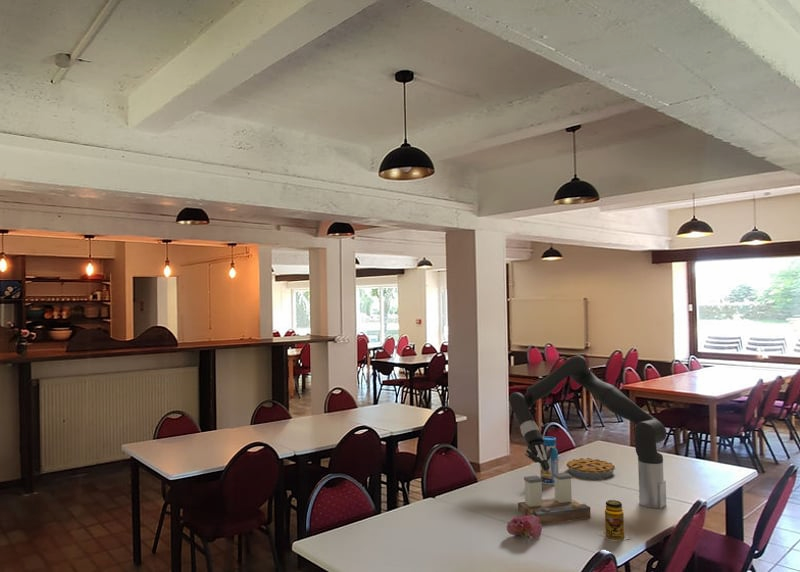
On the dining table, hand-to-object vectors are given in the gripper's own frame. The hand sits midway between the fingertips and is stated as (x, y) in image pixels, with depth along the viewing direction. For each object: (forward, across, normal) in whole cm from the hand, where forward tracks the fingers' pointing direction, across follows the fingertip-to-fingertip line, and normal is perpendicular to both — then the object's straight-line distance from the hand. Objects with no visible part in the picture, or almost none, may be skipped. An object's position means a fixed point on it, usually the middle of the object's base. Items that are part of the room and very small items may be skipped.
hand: (546, 469), depth 239 cm
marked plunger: (+14, 0, +2) cm, 14 cm away
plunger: (+14, +13, +2) cm, 19 cm away
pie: (-10, -39, -29) cm, 49 cm away
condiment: (+37, -3, +19) cm, 42 cm away
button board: (+19, +6, +2) cm, 20 cm away
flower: (+31, +28, +14) cm, 44 cm away
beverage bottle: (-5, -13, -24) cm, 27 cm away
